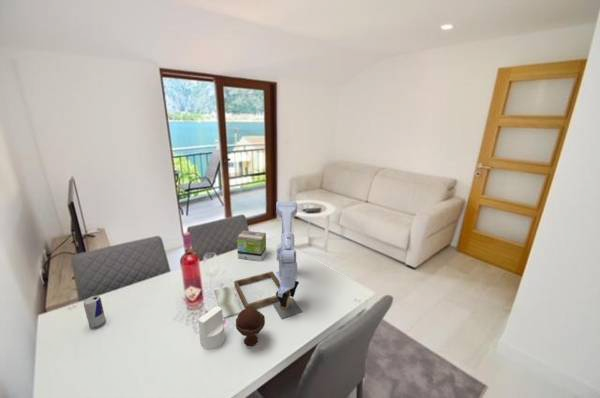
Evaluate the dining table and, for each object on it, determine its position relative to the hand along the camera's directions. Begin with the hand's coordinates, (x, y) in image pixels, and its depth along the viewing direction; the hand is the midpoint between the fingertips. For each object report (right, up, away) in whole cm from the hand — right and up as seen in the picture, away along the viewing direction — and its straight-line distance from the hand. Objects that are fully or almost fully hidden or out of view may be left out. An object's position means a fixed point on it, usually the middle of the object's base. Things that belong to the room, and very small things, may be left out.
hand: (287, 301), depth 117 cm
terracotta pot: (-1, -3, +1) cm, 4 cm away
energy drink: (-76, -6, -10) cm, 77 cm away
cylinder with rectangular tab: (-28, -9, -16) cm, 33 cm away
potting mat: (0, -4, +1) cm, 4 cm away
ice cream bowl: (-13, -9, -16) cm, 23 cm away
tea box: (-24, +10, +44) cm, 51 cm away
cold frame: (-18, -1, +9) cm, 20 cm away
